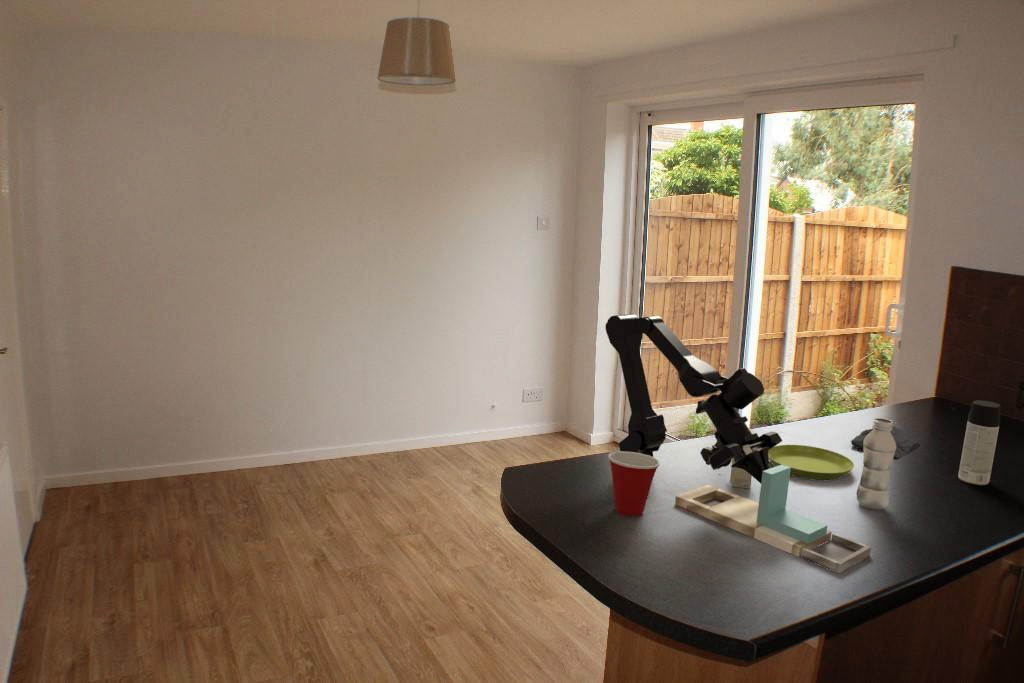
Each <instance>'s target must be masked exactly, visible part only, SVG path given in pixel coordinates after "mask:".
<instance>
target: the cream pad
mask: <svg viewBox="0 0 1024 683" xmlns="http://www.w3.org/2000/svg"><path fill="white" fill-rule="evenodd" d="M753 539H755V540H758V541H760V542H762V543H765V544H768V545H769V546H772V547H775V548H777V549H779V550H782V551H784V552H786V553H789V554H791V553H792V545H793V544H794V543H796V542H798V541H799V540H796V539H794V538H792V537H789V536H787V535H784V534H782V533H779V532H777V531H775V530H772V529H770V528H767V527H765V526H760V527H758V528H756V529H755V535H754V538H753Z"/></svg>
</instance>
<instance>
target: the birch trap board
mask: <svg viewBox="0 0 1024 683" xmlns="http://www.w3.org/2000/svg"><path fill="white" fill-rule="evenodd" d="M674 504H676V505H675V506H677V505H678V507H680V506H681V508H682V507H683V508H682V509H684V508H685V510H687V509H688V510H687V511H689V510H690V511H689V512H692V513H694V512H695V513H694V514H696V513H697V514H696V515H699V516H701V517H703V516H704V518H706V519H708V520H710V519H711V520H710V521H713V522H716V523H718V524H720V525H723V526H725V527H728V528H729V529H732V530H734V531H737V532H739V533H742V534H744V535H746V536H749V537H750V538H753V539H755V538H754V535H755V529H756V528H758V527H760V526H762V525H760V524H758V523H756V522H757V514H758V506H759V502H757V501H753V500H751V499H749V498H746V497H743V496H741V495H739V494H736V493H733V492H729V491H727V490H726V489H723V488H719V487H717V486H714V485H712V484H706V485H704V486H700V487H697V488H695V489H692V490H690V491H686V492H683V493H680V494H678V495H675V502H674ZM829 540H831V541H829ZM827 541H829V542H827ZM825 542H827V543H825ZM823 543H825V544H823ZM821 544H823V545H821ZM819 545H821V546H819ZM818 546H819V547H818ZM816 547H817V548H816ZM814 548H815V549H814ZM812 549H813V550H812ZM871 551H872V547H871V546H869V545H867V544H864V543H863V542H862V543H861V542H859V541H856V540H853V539H851V538H848V537H846V536H843V535H840V534H838V533H836V532H834V533H832V531H831V530H829V529H827V533H826V535H825V536H823V537H821V538H819V539H817V540H815V541H813V542H811V543H809V544H806V543H804V542H801V541H798V542H796V543H794V544H793V545H792V554H791V555H793V554H794V556H796V557H798V556H799V557H800V558H801V559H803V558H804V559H803V560H805V559H806V560H805V561H807V560H809V561H808V562H810V561H811V562H810V563H812V562H813V563H812V564H815V563H816V564H815V565H817V564H819V565H821V566H820V567H822V566H823V567H822V568H824V567H825V569H826V568H828V569H827V570H829V569H831V570H833V571H832V572H834V571H835V572H834V573H836V572H838V573H839V574H841V573H843V572H844V571H843V570H845V569H846V570H848V569H849V567H850V566H851V567H853V566H854V564H855V563H857V562H858V563H860V562H862V561H863V559H864V560H865V559H867V558H869V557H870V556H871ZM868 556H869V557H868ZM861 560H862V561H861ZM859 561H860V562H859ZM858 563H857V564H858ZM819 565H818V566H819ZM852 565H853V566H852ZM855 565H856V564H855ZM851 567H850V568H851ZM847 568H848V569H847ZM831 570H830V571H831ZM846 570H845V571H846ZM842 571H843V572H842ZM840 572H841V573H840ZM838 573H837V574H838Z"/></svg>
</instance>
